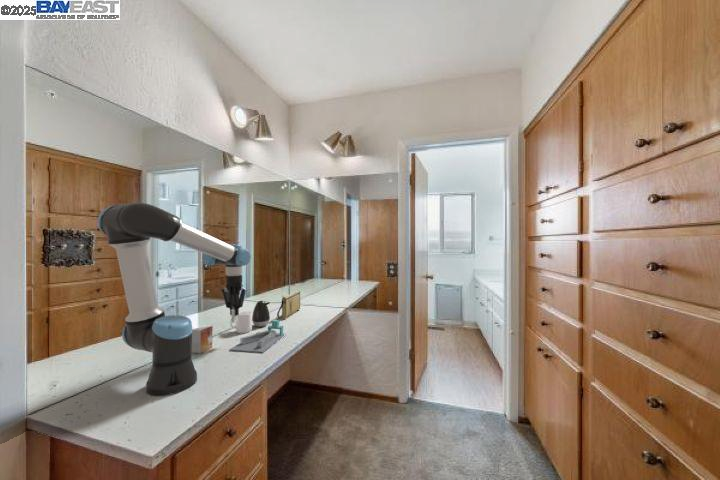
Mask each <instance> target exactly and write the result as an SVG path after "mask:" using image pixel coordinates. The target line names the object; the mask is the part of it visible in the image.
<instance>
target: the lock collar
mask: <svg viewBox="0 0 720 480" xmlns="http://www.w3.org/2000/svg"><path fill="white" fill-rule="evenodd" d="M272 330H279V333H280V335H282V334H284V326H283V325H280V320H279V319H273V320H271V325H269V326H268V327H267V331H269V333H271V331H272Z"/></svg>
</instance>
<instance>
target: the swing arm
mask: <svg viewBox="0 0 720 480" xmlns="http://www.w3.org/2000/svg"><path fill="white" fill-rule="evenodd" d="M256 333H257V332H256ZM256 333H254V334H249V335H246V336H243V337H240V339H239V340H240V342H239V343H240V344H242V345H243V344H247V343H250V342H254V341H257V340H260V339H262V338H263V337H265V336H266V335H268V334H269V331H268V330H264V331H261V332H260V333H257V334H256Z"/></svg>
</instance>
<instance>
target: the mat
mask: <svg viewBox="0 0 720 480" xmlns="http://www.w3.org/2000/svg"><path fill="white" fill-rule="evenodd" d="M257 333H260V332H256V333H255V334H257ZM284 334H285V333H283V334H282V335H280V332H276V338H274V339H273V340H271V341H270V342H269V343H267V344H266V345H265V346H263V347H262V348H257V341H259V340H257V341H254V342H250V343H247V344H243V345H242V344H240V342H239V343H238V344H236V345H234V346H233V347H231V348H229V350H228V351H229V352H238V353H239V352H240V353H254V352H258V353H257V354H259V353H260V354H264V353H265V352H266V351H268V350H269V349H270V348H272V347H273V346H274V345H276V344H277V343H278V342H279V341H280V339H281V338H282V337H283V336H284ZM284 337H285V336H284ZM284 337H283V338H284ZM283 338H282V339H283ZM282 339H281V340H282ZM278 340H279V341H278ZM277 341H278V342H277ZM276 342H277V343H276ZM273 344H274V345H273ZM272 345H273V346H272ZM271 346H272V347H271ZM268 348H269V349H268ZM267 349H268V350H267ZM263 352H264V353H263Z"/></svg>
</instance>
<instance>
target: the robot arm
mask: <svg viewBox="0 0 720 480" xmlns="http://www.w3.org/2000/svg"><path fill="white" fill-rule="evenodd" d="M96 222H97V227H98V229H99V230H100V232H101V233H103V234H104V235H105V236H106V237H107V242H108V245H109V246H110V247H112V248H114V249H115V252H116V256H117V261H118V265H119V270H120V274H121V275H120V276H121V280H122V284H123V285H122V286H123V289H124V294H125V299H126V303H127V308H128V312H129V313H128V315H127V316H126V317H125V318H124V321H125V326H124V327H123V328H122V333H121V336H122V340H123V341H124V343H125V344H126V345H127V346H128V347H131V348H132V349H135V350H139V351H145V352H148V353H152V358H151V359H152V361H151V362H152V367H151V370H150V372H149V375H148V379H147V381H146V384H145V394H147V395H149V396H153V397H158V396H159V397H160V396H161V397H162V396H168V395H172V394H173V395H174V394H177V393H179V392H183V391H185V390H187V389H188V388H191V387H192V386H193V385H195V384H196V382H197V381H198V372H197V370H196V369H195V365H194V362H193V358H192V354H193V353H192V329H193V325H192V324H193V323H192V319H190V318H189V317H187V316H185V315H179V314H177V315H174V314H173V315H172V314H171V315H166V314H165V309H164V308H162V307H160V306H159V304H158V303H159V302H158V299H157V294H156V289H155V284H154V277H153V274H152V267H151V262H150V258H149V252H148V247H147V244H148V243H149V242H150V241H151V238H153V239H158V240H161V241H163V242H169V241H171V242H174V243H175V244H179V245H182V246H184V247H186V248H189V249H192V250H195V251H197V252H199V253H201V254H202V255H201V260H202V263H203V264H204V265H205V266H213V267H214V266H225V275H226V276H225V284H226V285H225V287H223V288H221V290H220V291H221V292H222V294H223V298H224V304H225V307H226V308H227V309H229V315H230V316H231V318H232V323H233V324H236V322H237V315H239V312H240V308H242V307H243V305H244V302H245V296H246V293H247V291H248V288H245V287H244V286H243V275H242V274H243V266H247V265H249V264H250V261H251V259H252V258H251V257H252V256H251V255H252V254H251V252H250V251H249V249H246V248H243V247H242V244H240V243H239V244H238V243H236V244H235V243H227V242H225V241H223V240H220V239H218V238H217V237H214V236H212V235H210V234H208V233H205V232H204V231H201V230H200V229H198V228H195V227H194V226H190V225H189V224H187V223H184V222H183V221H182V219H181V218H180V217H179V216H177V215H175V214H173V213H171V212H168V211H166V210H164V209H162V208H160V207H157V206H155V205H152V204H149V203H146V202H145V203H144V202H132V203H118V204H113V205H111V206H107V207H106V208H104V209H103V210H102V211H101V212H100V213H99V215H98V217H97V221H96Z"/></svg>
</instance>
